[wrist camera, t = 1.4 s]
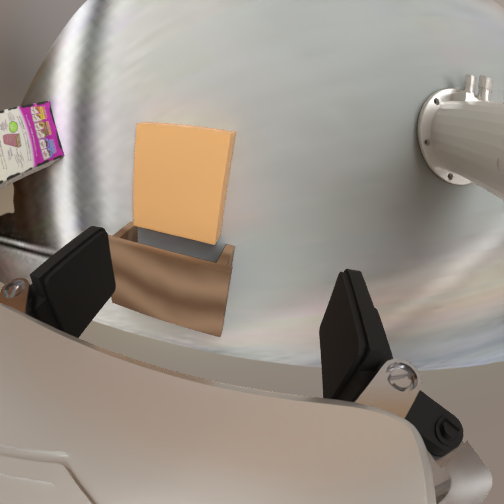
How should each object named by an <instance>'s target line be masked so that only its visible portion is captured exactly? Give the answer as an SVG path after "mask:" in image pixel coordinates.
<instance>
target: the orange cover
mask: <svg viewBox="0 0 504 504" xmlns="http://www.w3.org/2000/svg"><path fill="white" fill-rule="evenodd" d="M235 136H236V132H233V131H227V130H220V129H213V128H205V127H197V126H189V125H179V124H168V123H154V122H144V123H138V124H137V128H136V141H135V157H134V185H133V217H134V226H138V227H142V228H146V229H150V230H155V231H159V232H163V233H167V234H171V235H176V236H180V237H184V238H188V239H192V240H196V241H201V242H205V243H209V244H213V245H215V244H216V242H217V241H218V239H219V237H220V234H221V227H222V220H223V213H224V206H225V199H226V192H227V185H228V179H229V172H230V166H231V160H232V154H233V148H234V142H235Z"/></svg>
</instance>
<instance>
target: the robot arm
mask: <svg viewBox="0 0 504 504" xmlns="http://www.w3.org/2000/svg"><path fill="white" fill-rule="evenodd" d="M465 84H466V85H465V90H460V89H455V88H447V89H442V90H439V91H437V92H435V93H433V94H432V95H431V96H430V97H429V98H428V99H427V100H426V102H425V103H424V104H423V107H422V109H421V111H420V115H419V120H418V140H419V144H420V149H421V151H422V154H423V156H424V159H425V160H426V162H427V164H428V166H429V167H430V168H431V169H432V170H433V172H434V173H435V174H437V175H438V176H439V177H440V178H442V179H443V180H445V181H447V182H449V183H452V184H456V185H467V184H470V183H475V184H477V185H479V186H480V187H482V188H484V189H486V190H487V191H489V192H491V193H492V194H494V195H496V196H497V197H499V198H500V199H502V200H504V103H499V102H490V96H491V93H492V85H493V81H492V80H491V79H490V78H488V77H486V76H482V75H481V76H480V78H479V86H478V88H479V91H478V96H475V95H474V89H475V85H476V78H475V77H473V76H472V75H468V74H467V75H466V81H465ZM434 101H435V103H434ZM424 141H426V143H425V144H424ZM30 277H31V280H32V284H31V285H30V284H29V282H28V280H27V279H25V278H16V279H13V280H11V281H9V282H7V283H6V284H5V285H4V286H3V288H2V289H1V292H0V504H481V502H482V501H483V500H484V498H485V497H486V496H487V494H488V493H489V491H490V489H491V486H492V475H491V473H490V471H489V470H488V468H487V467H486V466H485V464H484V463H483V461H482V460H481V459H480V457H479V456H478V455H477V453H476V452H475V451H474V449H473V448H472V447H471V445H470V444H469V443H468V441H466V442H465V443H463V441H462V439H463V428H462V425H461V423H460V421H459V420H458V419H457V418H456V417H455V416H454V415H453V414H451V413H450V412H449V411H447V410H446V409H444V408H443V407H442V406H440V405H439V404H438V403H436V402H435V401H434V400H432V399H431V398H430V397H428V396H427V395H426V394H424V393H423V392H422V391H420V388H421V384H422V379H421V376H420V373H419V371H418V370H417V369H416V367H415V366H413V365H412V364H411V363H410V362H407V361H405V360H402V359H393V357H392V353H391V350H390V347H389V344H388V340H387V337H386V334H385V331H384V328H383V325H382V322H381V319H380V316H379V313H378V311H377V309H376V308H374V306H373V303H372V300H371V297H370V294H369V292H368V289H367V286H366V283H365V281H364V278H363V276H362V273H361V271H356V270H350V269H346V270H345V271H344V272H340V273H339V275H338V278H337V281H336V284H335V287H334V290H333V292H332V295H331V298H330V301H329V304H328V306H327V309H326V312H325V315H324V317H323V320H322V323H321V325H320V330H319V336H320V349H321V363H322V380H323V398H318V397H310V396H300V395H293V394H285V393H277V392H271V391H265V390H258V389H253V388H247V387H240V386H236V385H231V384H226V383H221V382H216V381H211V380H206V379H203V378H199V377H194V376H190V375H186V374H182V373H179V372H175V371H171V370H168V369H164V368H161V367H157V366H154V365H151V364H147V363H144V362H141V361H138V360H135V359H132V358H129V357H126V356H123V355H120V354H117V353H115V352H112V351H109V350H106V349H103V348H101V347H99V346H96V345H94V344H91V343H88V342H86V341H84V340H81V339H79V336H80V335H81V333H82V332H83V331H84V330H85V328H86V327H87V326H88V325H89V323H90V322H91V321H92V319H93V318H94V317H95V316H96V314H97V313H98V312H99V311H100V309H101V308H102V307H103V306H104V304H105V303H106V302H107V301H108V299H109V298H110V297H111V296H112V294H113V293H114V292H115V289H116V282H115V277H114V271H113V265H112V259H111V253H110V246H109V238H108V234H107V232H106V231H105V229H104V228H101V227H95V226H91V227H89V228H88V229H87V230H85V231H84V232H83V233H81V234H80V235H78V236H77V237H76V238H74V239H73V240H72V241H70V242H69V243H68V244H67V245H65V246H64V247H63V248H61V249H60V250H59V251H58V252H56V253H55V254H54V255H53V256H51V257H50V258H49V259H48V260H46V261H45V262H44V263H43V264H42V265H40V266H39V267H38V268H37V269H36V270H35V271H33V272H32V273H31V274H30Z"/></svg>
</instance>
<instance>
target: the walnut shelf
mask: <svg viewBox="0 0 504 504" xmlns="http://www.w3.org/2000/svg"><path fill="white" fill-rule="evenodd" d="M108 238H109V246H110V253H111V259H112V265H113V271H114V277H115V282H116V289H115V292H114V293H113V294H112V296H111V297H112V303H115V304H118V305H120V306H123V307H126V308H129V309H131V310H134V311H137V312H140V313H143V314H146V315H148V316H151V317H154V318H157V319H160V320H164V321H167V322H170V323H173V324H176V325H179V326H183V327H186V328H189V329H193V330H196V331H200V332H203V333H207V334H210V335H214V336H217V337H220V336H221V333H222V330H223V323H224V317H225V310H226V304H227V297H228V291H229V285H230V279H231V272H232V261H233V255H234V249H235V246H232V245H228V244H226V246H225V248H224V250H223V252H222V253H221V255H220V257H219V259H218V261H217V263H214V262H210V261H206V260H202V259H198V258H194V257H190V256H186V255H183V254H179V253H175V252H171V251H167V250H163V249H159V248H155V247H152V246H148V245H144V244H140V243H138V237H137V226H134V222H130V223H128V224H127V225H126V226H124V227H123V228H122V229H121V230H119V231H118V232H117V233H115V234H114V235H113V236H110V235H108Z"/></svg>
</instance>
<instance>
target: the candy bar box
mask: <svg viewBox="0 0 504 504" xmlns="http://www.w3.org/2000/svg"><path fill="white" fill-rule="evenodd" d="M63 156H64V153H63V150H62V147H61V143H60V140H59V137H58V133H57V130H56V126H55V122H54V118H53V115H52V111H51V107H50V102H49V101H45V102H39V103H34V104H29V105H24V106H19V107H15V108H11V109H6V110H3V111H0V189H1V188H3V187H5V186H7V185H9V184H11V183H13V182H15V181H17V180H19V179H21V178H24V177H26V176H28V175H30V174H32V173H34V172H37V171H39V170H41V169H44V168H46V167H48V166H50V165H52V164H53V163H54V162H56V161H57V160H59V159H60V158H62V157H63Z"/></svg>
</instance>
